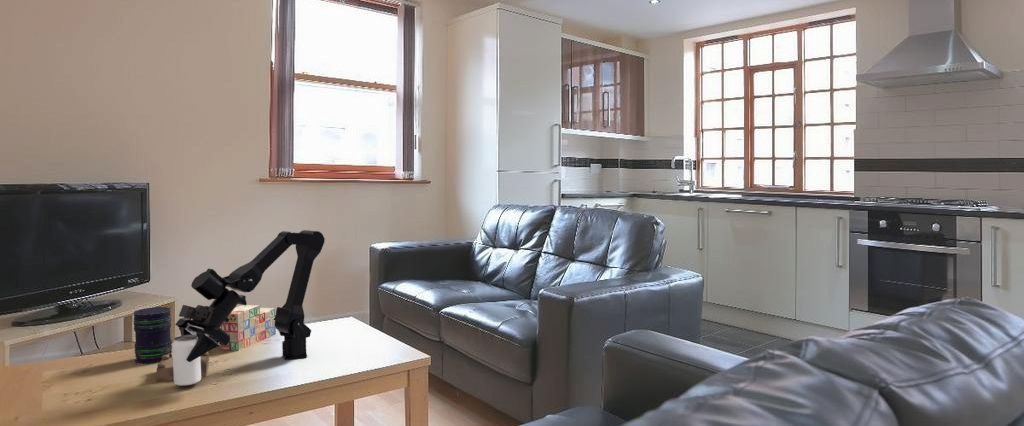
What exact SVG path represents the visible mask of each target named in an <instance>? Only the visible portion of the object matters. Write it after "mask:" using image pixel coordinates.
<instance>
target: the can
mask: <svg viewBox="0 0 1024 426" xmlns="http://www.w3.org/2000/svg"><path fill="white" fill-rule="evenodd" d="M197 342H198V336H197V335H184V336H181V335H180V336H176V337H174V339H173V342H172V358H173V373H174V380H173V383H174V384H175V386H178V387H184V386H185V387H186V386H193V385H195V384H199V382H200V381H201V380H202V377H201V358H200V357H198V358H196V359H194V360H193V361H191V362H188V361H187V360H186V359H187V357H188V356H189V354H190V352H191V351H192V349H193V348H194V346H195V345H196V343H197Z"/></svg>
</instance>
